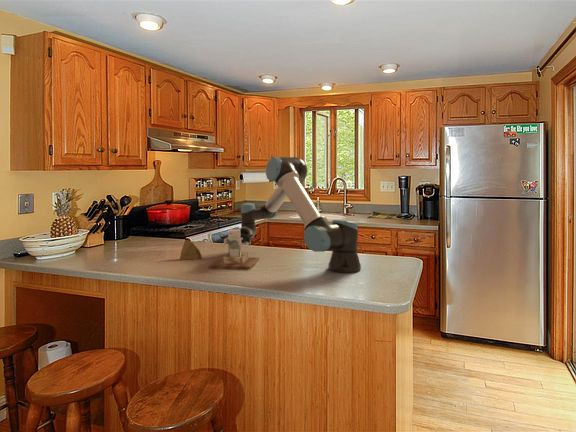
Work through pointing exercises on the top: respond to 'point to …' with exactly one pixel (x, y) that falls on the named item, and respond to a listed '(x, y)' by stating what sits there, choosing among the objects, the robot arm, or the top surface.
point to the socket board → (234, 262)
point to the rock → (189, 251)
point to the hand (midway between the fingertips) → (231, 242)
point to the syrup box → (234, 242)
